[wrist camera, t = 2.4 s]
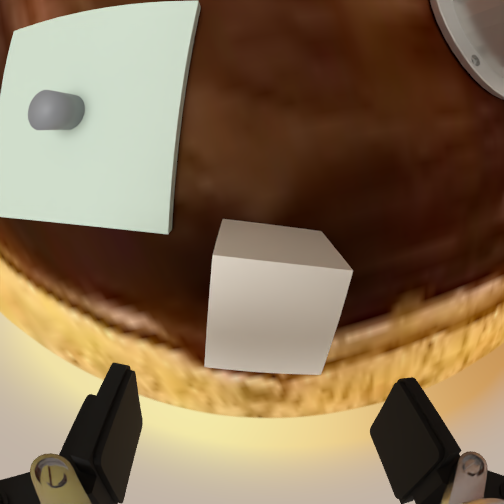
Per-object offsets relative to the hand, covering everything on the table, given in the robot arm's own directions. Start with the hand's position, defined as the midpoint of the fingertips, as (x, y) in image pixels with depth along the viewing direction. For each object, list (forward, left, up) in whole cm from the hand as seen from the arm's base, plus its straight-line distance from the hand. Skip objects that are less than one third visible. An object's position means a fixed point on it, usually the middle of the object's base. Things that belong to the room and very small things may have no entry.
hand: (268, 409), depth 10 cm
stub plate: (+13, -10, -11) cm, 19 cm away
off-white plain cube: (0, -1, -11) cm, 11 cm away
